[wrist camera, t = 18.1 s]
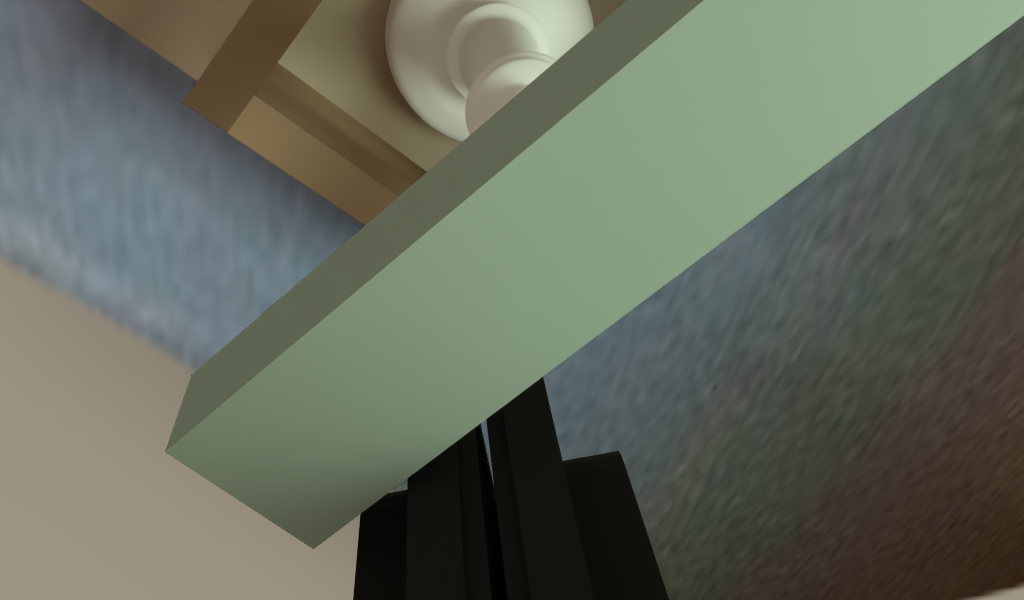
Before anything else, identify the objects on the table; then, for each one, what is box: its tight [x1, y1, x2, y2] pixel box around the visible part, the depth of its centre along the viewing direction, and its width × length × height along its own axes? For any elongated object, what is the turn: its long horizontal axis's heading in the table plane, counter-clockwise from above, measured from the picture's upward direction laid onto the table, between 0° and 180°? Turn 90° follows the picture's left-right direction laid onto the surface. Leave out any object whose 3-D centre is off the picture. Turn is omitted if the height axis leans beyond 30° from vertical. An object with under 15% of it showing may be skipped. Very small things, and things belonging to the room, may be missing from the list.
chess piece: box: [385, 0, 594, 142], centre depth 15 cm, size 5×5×10 cm
